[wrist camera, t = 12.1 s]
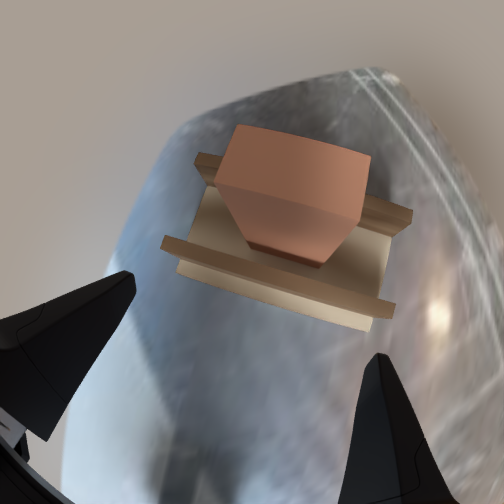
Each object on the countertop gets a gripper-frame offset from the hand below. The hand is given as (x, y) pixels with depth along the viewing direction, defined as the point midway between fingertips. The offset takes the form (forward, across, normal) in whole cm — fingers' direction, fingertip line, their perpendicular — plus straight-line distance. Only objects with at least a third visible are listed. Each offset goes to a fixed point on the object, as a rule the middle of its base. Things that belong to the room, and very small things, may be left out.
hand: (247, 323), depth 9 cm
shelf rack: (+13, 0, +5) cm, 14 cm away
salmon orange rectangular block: (+13, 0, +4) cm, 13 cm away
